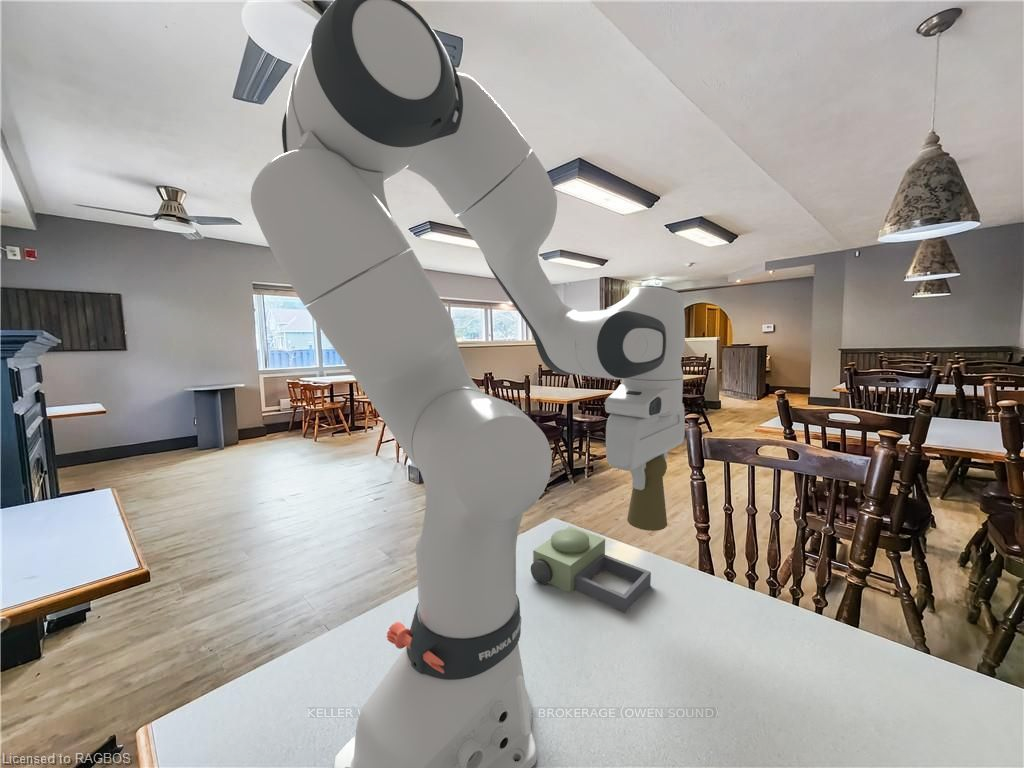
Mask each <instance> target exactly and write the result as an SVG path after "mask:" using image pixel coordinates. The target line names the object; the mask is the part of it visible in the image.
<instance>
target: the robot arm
mask: <svg viewBox="0 0 1024 768" xmlns="http://www.w3.org/2000/svg"><path fill="white" fill-rule="evenodd" d="M281 125H282V126H281V139H282V140H281V141H282V148H283V153H281V154H280V155H278V156H277V157H275V158H273V159H272V160H270V161H269V162H268V163H267V164H266V165H265V166H264V167H263V168H262V169H261V170H260V171H259V173H258V174H257V176H256V177H255V179H254V181H253V183H252V186H251V191H250V204H251V208H252V211H253V214H254V217H255V218H256V221H257V223H258V225H259V228H260V230H261V232H262V234H263V237H264V238H265V240H266V242H267V244H268V246H269V248H270V251H271V253H272V254H273V256H274V258H275V260H276V262H277V264H278V265H279V268H280V269H281V271H282V273H283V275H284V276H285V278H286V279H287V281H288V283H289V284H290V286H291V288H292V289H293V291H294V292H295V293H296V295H297V297H298V298H299V300H300V301H301V303H302V304H303V306H304V307H305V306H306V307H305V308H306V310H307V311H308V312H309V314H310V316H311V317H312V318H313V320H314V321H315V322H316V324H317V326H318V327H319V328H320V330H321V331H322V333H323V334H324V336H325V337H326V339H327V340H328V341H329V343H330V344H331V345H332V347H333V349H334V350H335V351H336V353H337V354H338V356H339V357H340V358H341V360H342V362H343V363H344V365H345V366H346V368H348V370H349V371H350V374H352V376H353V377H354V379H355V380H356V382H357V383H358V385H359V386H360V388H361V389H362V391H363V392H364V394H365V395H366V397H367V398H368V400H369V401H370V403H371V404H372V406H373V407H374V409H375V410H376V412H377V413H378V415H379V416H380V418H381V420H382V421H383V422H384V424H385V425H386V427H387V429H388V430H389V432H390V433H391V435H392V436H393V437H394V439H395V441H397V444H398V445H399V447H400V448H401V449H402V451H403V452H404V454H405V455H406V457H407V458H408V459H409V460H410V461H411V462H412V464H413V465H414V466H415V467H416V468H417V470H418V471H419V472H420V475H421V478H422V481H423V485H424V491H425V492H424V493H425V509H424V517H423V522H422V528H421V529H422V530H421V534H420V535H419V537H418V538H417V540H416V541H417V542H416V544H415V554H416V555H415V556H416V558H415V559H416V560H415V561H416V576H417V579H416V581H417V597H418V600H417V601H418V603H417V605H416V607H415V611H414V615H413V617H412V622H411V625H410V629H409V628H407V627H405V625H404V624H403V623H402V622H400V621H397V622H394V623H393V624H391V626H389V628H388V629H389V630H387V633H386V634H387V635H386V639H387V641H389V643H391V644H393V645H395V647H396V648H397V649H398V650H402V649H403V651H402V652H401V653H400V654H399V656H397V658H396V660H395V661H394V663H393V664H392V665H391V666H390V668H389V670H388V671H387V673H386V674H385V675H384V676H383V678H382V680H381V681H380V682H379V684H378V685H377V686H376V687H375V689H374V691H373V692H372V693H371V695H370V696H369V697H368V699H367V700H366V701H365V703H364V704H363V705H362V708H361V710H360V712H359V715H358V719H357V723H356V729H355V734H354V735H353V737H351V738H350V740H349V741H348V742H346V744H345V745H343V746H342V748H341V749H340V750H339V751H338V752H337V753H336V755H335V756H334V759H333V765H332V768H533V767H534V766H535V764H536V762H537V761H538V760H537V759H538V753H537V752H538V751H537V746H536V740H535V738H534V734H533V732H532V722H533V710H532V709H533V708H532V702H531V698H530V696H529V694H528V691H527V687H526V683H525V682H526V681H525V677H524V676H525V675H524V669H523V663H522V659H521V652H520V646H519V641H520V638H521V634H522V633H521V632H522V631H521V630H522V629H521V627H522V616H521V604H520V599H519V596H518V594H517V545H518V544H517V542H518V535H519V531H520V527H521V521H522V518H523V515H524V513H525V512H527V511H528V510H530V509H531V508H532V507H533V506H534V504H536V502H537V501H538V500H539V499H540V497H542V495H543V493H544V491H545V489H546V487H547V485H548V482H549V481H550V477H551V471H552V467H553V466H552V465H553V460H552V459H553V458H552V456H553V455H552V449H551V447H550V443H549V441H548V438H547V437H546V434H545V433H544V432H543V430H542V429H541V428H540V427H539V426H538V425H537V424H536V423H535V422H534V421H533V420H532V419H531V418H530V417H529V416H528V415H527V414H526V413H525V412H523V410H521V409H520V408H519V407H518V406H516V405H514V404H513V403H511V402H509V401H506V400H504V399H501V398H499V397H498V398H497V397H495V396H493V395H489V394H488V393H487V394H486V392H484V391H482V390H481V389H480V387H478V385H477V384H476V383H475V382H474V380H473V378H472V377H471V375H470V373H469V372H468V369H467V366H466V363H465V361H464V358H463V356H462V353H461V351H460V347H459V345H458V342H457V339H456V338H457V337H456V334H455V330H456V329H455V323H454V321H453V318H452V316H451V314H450V313H449V311H448V310H447V307H446V306H445V304H444V302H443V301H442V299H441V297H440V296H439V293H438V292H437V290H436V288H435V287H434V285H433V284H432V281H431V279H430V278H429V276H428V274H427V273H426V271H425V269H424V267H423V266H422V264H421V262H420V261H419V259H418V257H417V255H416V254H415V252H414V250H413V249H411V248H412V247H411V245H410V243H409V241H408V240H407V239H406V236H405V235H404V233H403V232H402V230H401V229H400V227H399V225H398V224H397V222H396V221H395V220H394V218H393V216H392V213H391V210H390V208H389V205H388V201H387V199H386V192H385V186H384V185H385V183H384V182H386V181H387V180H389V179H390V178H391V177H392V176H395V175H396V174H398V173H399V172H400V171H402V170H404V169H405V170H407V171H410V172H412V173H415V174H416V175H418V176H420V177H422V178H423V179H424V180H426V181H427V182H428V183H429V184H431V185H432V186H433V187H434V188H435V190H436V191H437V193H438V194H439V196H440V197H441V198H442V200H443V201H444V202H445V204H446V205H447V206H448V209H450V210H451V212H452V213H453V214H454V215H455V216H456V218H457V219H458V221H459V222H460V223H461V224H462V226H463V227H464V228H465V230H466V231H467V232H468V233H469V235H470V236H471V238H472V239H473V240H474V242H475V244H476V245H477V246H478V248H479V250H480V251H481V253H482V254H483V256H484V259H485V261H486V263H487V266H488V267H489V269H490V271H491V273H492V274H493V276H494V278H495V279H496V281H497V282H498V284H499V285H500V287H501V289H502V290H503V291H504V293H505V294H506V296H507V298H508V299H509V300H510V302H511V303H512V305H513V306H514V307H515V309H516V310H517V312H518V314H519V315H520V316H521V318H522V319H523V321H524V322H525V323H526V325H527V327H528V328H529V330H530V332H531V334H532V337H533V339H534V342H535V346H536V349H537V351H538V354H539V357H540V359H541V360H542V362H543V364H544V365H545V367H547V368H548V369H549V370H551V372H553V373H555V374H559V375H565V376H566V375H567V376H569V375H570V376H571V375H572V376H574V375H576V376H577V375H579V376H585V377H592V378H601V379H602V378H603V379H609V380H621V384H619V385H618V387H617V388H616V389H615V390H614V391H613V392H612V393H611V394H610V395H609V396H607V398H606V399H605V401H604V410H605V412H606V413H608V414H609V416H608V418H607V420H606V425H605V456H606V457H605V458H606V461H607V463H608V465H609V467H611V468H613V469H618V470H622V471H626V472H630V475H631V477H632V483H631V484H632V485H631V486H632V489H633V488H635V489H638V490H643V489H644V488H646V487H647V485H648V484H647V482H648V477H645V472H644V469H645V468H646V462H648V461H650V460H652V459H654V458H656V457H658V456H659V455H661V456H662V457H664V459H665V461H666V462H667V458H668V454H669V453H668V452H670V450H672V449H674V448H677V447H678V446H679V445H682V444H683V442H684V439H685V435H686V433H685V432H686V431H685V430H686V422H685V421H686V419H685V418H686V417H685V406H684V404H683V390H684V389H683V387H684V372H683V368H682V357H683V354H684V352H685V346H686V315H685V307H684V302H683V297H682V295H681V294H680V293H679V292H678V291H677V290H675V289H673V288H670V287H666V286H657V285H639V286H635V287H632V288H630V290H629V292H628V294H627V295H626V296H625V297H624V298H622V299H621V300H619V301H618V302H616V303H615V304H612V305H611V306H608V307H606V309H597V310H594V309H593V310H578V309H575V308H572V307H570V306H568V305H566V304H565V303H564V302H563V301H562V300H561V298H560V295H558V293H557V291H556V290H555V288H554V286H553V285H552V283H551V281H550V280H549V278H548V276H547V275H546V273H545V271H544V270H543V268H542V266H541V263H540V259H539V252H540V248H541V246H543V244H544V242H545V241H546V240H547V239H548V237H549V236H550V234H551V231H552V229H553V227H554V225H555V221H556V216H557V209H558V196H557V193H556V190H555V187H554V185H553V183H552V180H551V178H550V176H549V174H548V172H547V170H546V169H545V167H544V165H543V164H542V162H541V161H540V159H539V158H538V156H537V155H536V153H535V152H534V151H533V149H532V147H531V146H530V144H529V143H528V141H527V140H526V138H525V137H524V136H523V134H522V133H521V131H520V130H519V129H518V127H517V126H516V124H515V123H514V122H513V121H512V119H511V118H510V117H509V116H508V114H507V113H506V112H505V111H504V110H503V108H502V107H501V105H500V104H498V102H497V101H496V100H495V99H494V98H493V96H491V95H490V94H489V93H488V92H487V91H486V90H485V88H483V86H481V84H480V83H478V81H477V80H476V79H474V77H471V75H468V74H466V73H463V72H458V71H457V70H456V67H455V65H454V62H453V61H452V59H451V57H450V55H449V53H448V51H447V50H446V48H445V46H444V43H442V41H441V40H440V38H439V37H438V35H437V34H436V32H435V31H434V30H433V28H432V27H431V26H430V24H429V23H428V22H427V21H426V20H425V18H423V16H422V15H421V14H420V13H419V12H418V11H417V10H416V9H415V8H414V7H413V6H411V5H410V4H409V3H407V2H406V1H404V0H333V1H332V2H331V3H330V5H328V7H327V8H326V9H325V11H323V14H322V15H321V16H320V17H319V19H318V20H317V22H316V24H315V26H314V28H313V32H312V35H311V41H310V44H309V45H308V48H307V50H306V51H305V54H304V56H303V58H302V60H301V62H300V63H299V66H298V67H297V68H296V71H295V73H294V75H293V77H292V82H291V85H290V90H289V95H288V99H287V107H286V111H285V112H284V115H283V119H282V123H281ZM515 760H516V761H515ZM517 760H518V761H517Z"/></svg>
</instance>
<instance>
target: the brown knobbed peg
mask: <svg viewBox="0 0 1024 768" xmlns="http://www.w3.org/2000/svg"><path fill="white" fill-rule="evenodd" d="M667 466H668V465H667V460H666V461H665V459H664V457H662V456H661V455H659V456H658V457H656V458H654V459H652V460H650V461H648V462H646V468H645V469H644V472H645V477H648V482H647V484H648V485H647V487H646V488H644V489H643V490H638V489H635V488H633V487H632V489H631V495H630V502H629V506H628V507H629V508H628V514H627V518H626V521H627V523H628V524H629V525H630V526H632V527H634V528H636V529H638V530H642V531H648V532H649V531H651V532H652V531H653V532H656V531H662V530H664V529H666V528H667V525H668V519H667V510H666V499H665V490H664V489H665V488H664V478H663V477H664V476H665V474H666V473H667V469H668V467H667Z"/></svg>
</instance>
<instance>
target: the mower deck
mask: <svg viewBox="0 0 1024 768" xmlns="http://www.w3.org/2000/svg"><path fill="white" fill-rule="evenodd" d="M532 553H533V559H532V560H533V563H532V564H531V565H530V573H531V576H532V578H533V579H534V581H536V582H537V584H540V585H546V584H547V583H548V584H551V585H552V586H555V587H556V588H559V589H560V590H563V591H565V592H567V593H569V594H571V593H573V592H574V591H575V592H578V593H581V594H582V595H585V596H586V597H589V598H591V599H594V600H596V601H597V602H601V603H603V604H604V605H606V606H608V607H611V608H613V609H615V610H617V611H620V612H622V613H624V614H626V613H627V612H628V611H629V610H630V609H631V608H632V606H633V605H634V604H635V603H636V602H637V601H638V600H639V598H641V597H642V595H644V593H645V592H646V591H647V590H648V589H649V587H650V586H651V583H652V582H651V581H652V580H651V579H652V572H651V571H649V570H647V569H644V568H641V567H638V566H636V565H633V564H631V563H629V562H625V561H623V560H620V559H618V558H615V557H612V556H609V555H606V538H605V537H601V536H598V535H595V534H593V533H591V532H586V531H584V530H581V529H578V528H575V527H573V526H568V527H567V528H565V529H560V530H557V531H554V533H552V535H551V537H550V539H549V540H547V541H545V542H544V543H542V544H540V545H539V546H538V547H536V548H535V549H533V551H532ZM602 571H607V572H609V573H612V574H614V575H617V576H619V577H621V578H625V579H627V580H629V581H631V582H634V583H633V584H632V585H631V586H630V587H629V588H628V589H627V590H626V591H625V592H624V593H622V592H619V591H617V590H615V589H612V588H610V587H607V586H605V585H603V584H600V583H599V582H595V581H593V579H594V578H596V577H597V575H599V574H600V573H601V572H602Z"/></svg>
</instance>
